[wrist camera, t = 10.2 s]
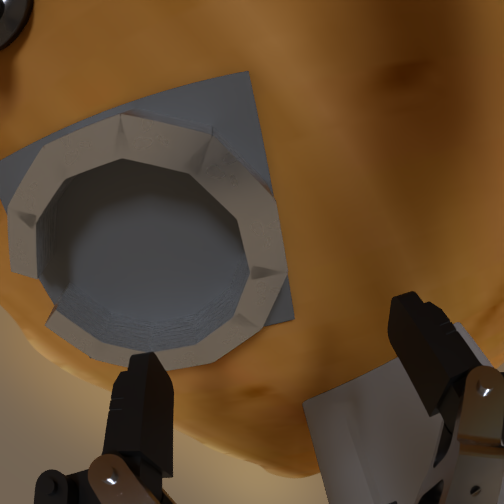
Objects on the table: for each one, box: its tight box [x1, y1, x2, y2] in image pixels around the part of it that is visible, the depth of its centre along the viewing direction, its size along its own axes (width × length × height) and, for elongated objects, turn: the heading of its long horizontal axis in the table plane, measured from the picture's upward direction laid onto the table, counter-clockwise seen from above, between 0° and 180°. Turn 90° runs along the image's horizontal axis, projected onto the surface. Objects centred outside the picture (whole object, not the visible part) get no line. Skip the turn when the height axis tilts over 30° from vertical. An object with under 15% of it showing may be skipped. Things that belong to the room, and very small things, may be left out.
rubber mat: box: [0, 71, 295, 358], centre depth 19 cm, size 17×17×1 cm
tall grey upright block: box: [302, 322, 504, 504], centre depth 21 cm, size 19×15×28 cm
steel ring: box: [7, 108, 288, 371], centre depth 18 cm, size 16×16×3 cm
